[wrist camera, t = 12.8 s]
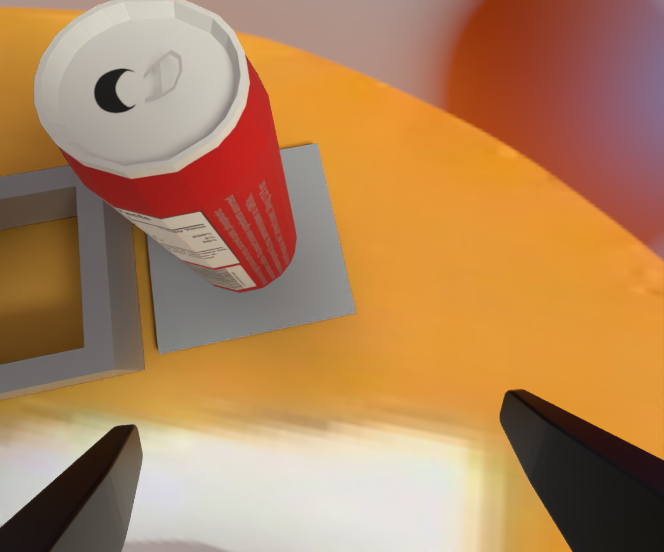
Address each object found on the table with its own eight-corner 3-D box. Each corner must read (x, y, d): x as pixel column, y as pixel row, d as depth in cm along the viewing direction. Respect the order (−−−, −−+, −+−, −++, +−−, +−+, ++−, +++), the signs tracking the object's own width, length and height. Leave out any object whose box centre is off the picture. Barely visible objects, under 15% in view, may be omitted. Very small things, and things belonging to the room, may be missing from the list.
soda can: (289, 189, 21) (244, -39, 9) (304, 284, 20) (274, 156, 8) (188, 204, 21) (12, -13, 9) (197, 302, 19) (3, 195, 8)
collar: (144, 369, 19) (114, 369, 16) (-71, 415, 18) (-140, 422, 15) (128, 186, 21) (100, 159, 19) (-62, 220, 21) (-121, 197, 18)
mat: (355, 313, 20) (356, 312, 19) (162, 354, 19) (158, 353, 19) (317, 147, 22) (317, 143, 22) (144, 177, 21) (140, 174, 21)
